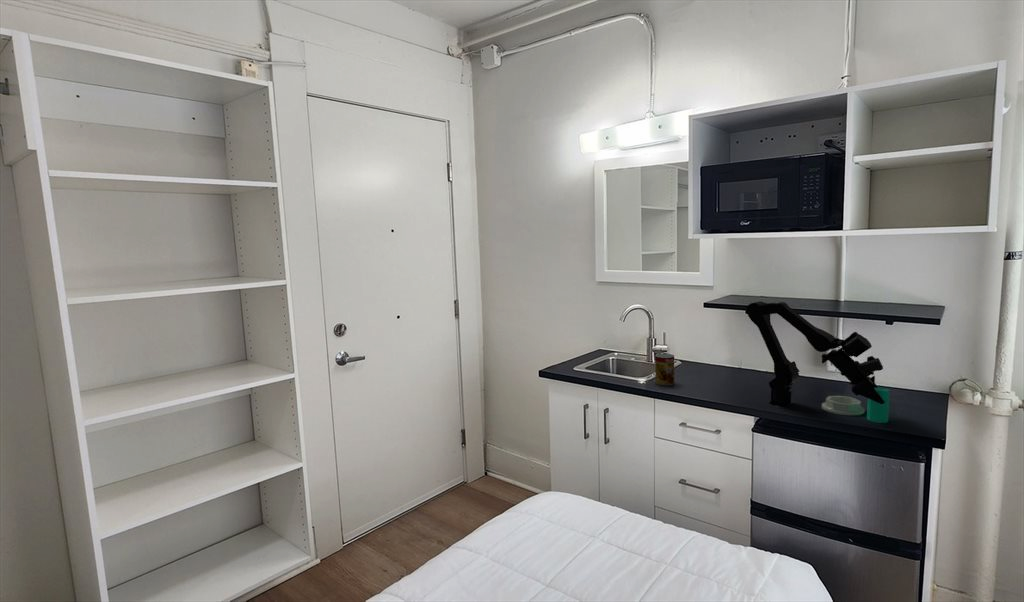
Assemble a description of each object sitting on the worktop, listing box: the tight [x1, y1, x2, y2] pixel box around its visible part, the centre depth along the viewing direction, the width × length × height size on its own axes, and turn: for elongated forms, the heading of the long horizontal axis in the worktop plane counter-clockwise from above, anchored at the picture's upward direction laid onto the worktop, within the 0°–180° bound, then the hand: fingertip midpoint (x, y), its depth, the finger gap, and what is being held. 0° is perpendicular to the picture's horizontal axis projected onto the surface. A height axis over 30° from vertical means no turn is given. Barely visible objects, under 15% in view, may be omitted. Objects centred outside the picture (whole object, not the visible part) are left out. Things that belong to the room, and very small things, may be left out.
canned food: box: [654, 353, 675, 386], centre depth 231 cm, size 8×8×12 cm
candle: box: [866, 386, 891, 424], centre depth 179 cm, size 6×6×12 cm
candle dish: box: [821, 395, 866, 417], centre depth 190 cm, size 13×13×4 cm
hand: (883, 401), depth 178 cm, fingers closed on candle, 5 cm apart
